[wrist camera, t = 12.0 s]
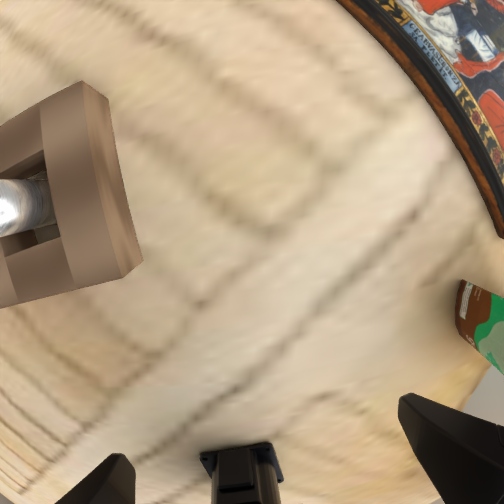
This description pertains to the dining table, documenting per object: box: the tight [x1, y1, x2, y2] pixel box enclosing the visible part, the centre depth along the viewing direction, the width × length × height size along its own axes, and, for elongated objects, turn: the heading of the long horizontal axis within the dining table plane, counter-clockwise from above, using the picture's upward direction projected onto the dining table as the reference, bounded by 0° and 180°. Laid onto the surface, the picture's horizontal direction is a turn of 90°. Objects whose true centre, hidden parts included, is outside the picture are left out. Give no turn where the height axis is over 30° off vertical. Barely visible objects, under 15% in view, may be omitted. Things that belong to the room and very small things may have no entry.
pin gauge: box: [0, 179, 57, 237], centre depth 13 cm, size 3×3×8 cm
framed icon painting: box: [336, 0, 504, 239], centre depth 15 cm, size 38×35×3 cm
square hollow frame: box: [0, 81, 143, 309], centre depth 15 cm, size 11×11×4 cm
